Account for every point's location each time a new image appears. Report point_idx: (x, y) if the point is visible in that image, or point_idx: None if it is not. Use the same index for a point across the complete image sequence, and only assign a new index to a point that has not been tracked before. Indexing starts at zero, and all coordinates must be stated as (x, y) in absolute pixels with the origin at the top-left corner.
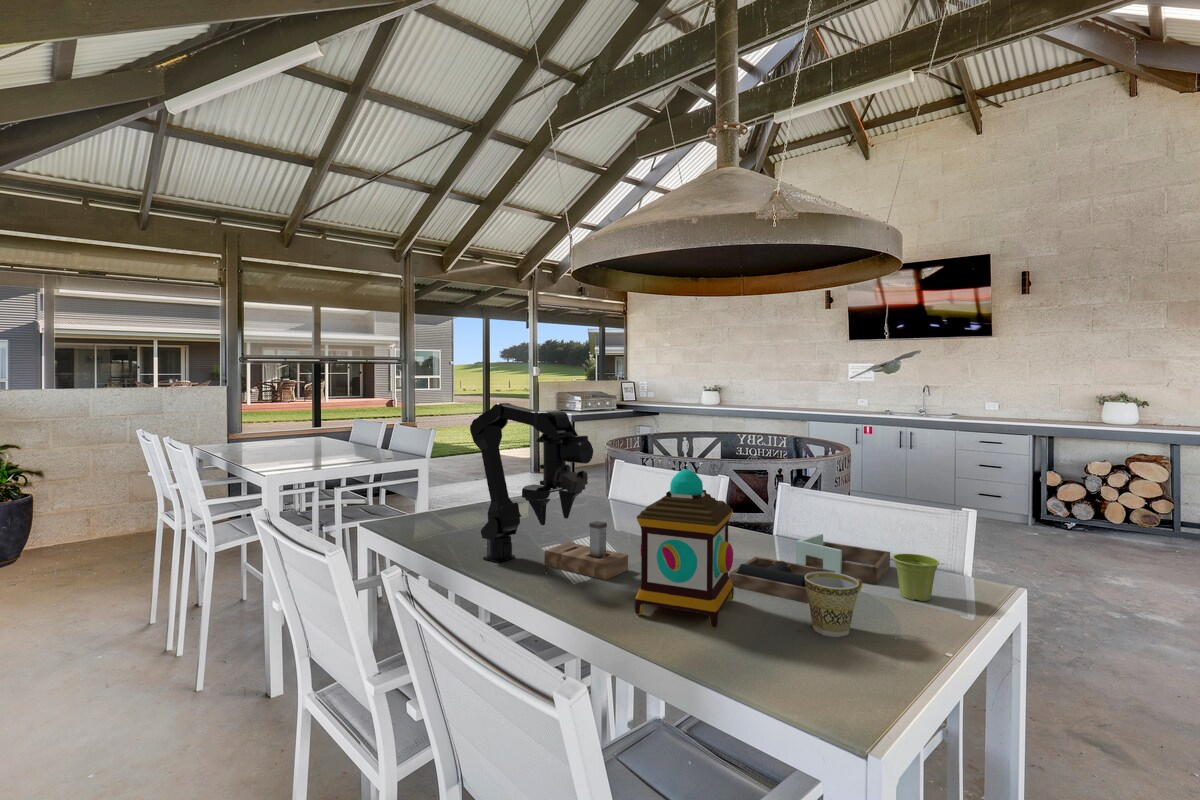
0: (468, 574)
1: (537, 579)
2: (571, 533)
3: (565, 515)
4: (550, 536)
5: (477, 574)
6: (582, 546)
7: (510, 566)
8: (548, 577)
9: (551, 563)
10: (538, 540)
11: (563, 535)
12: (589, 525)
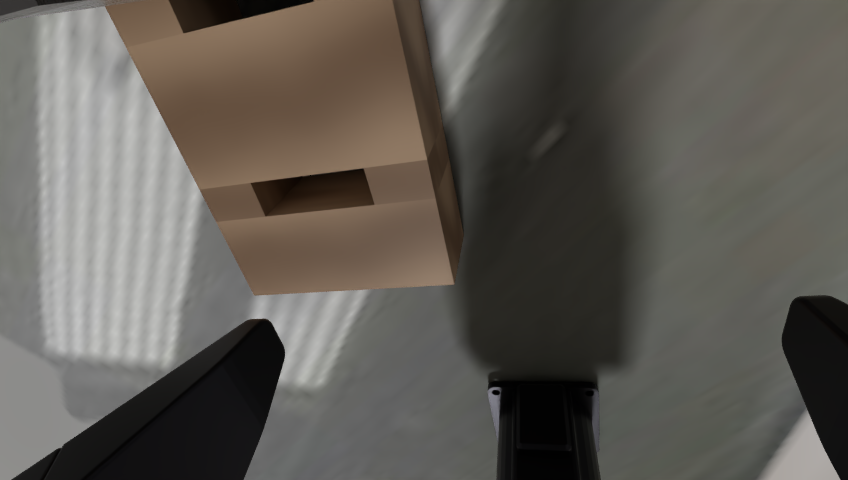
0: None
1: (681, 80)
2: None
3: (260, 365)
4: None
5: None
6: (220, 185)
7: (592, 327)
8: (605, 61)
9: (453, 200)
10: (286, 438)
11: None
12: (69, 2)
